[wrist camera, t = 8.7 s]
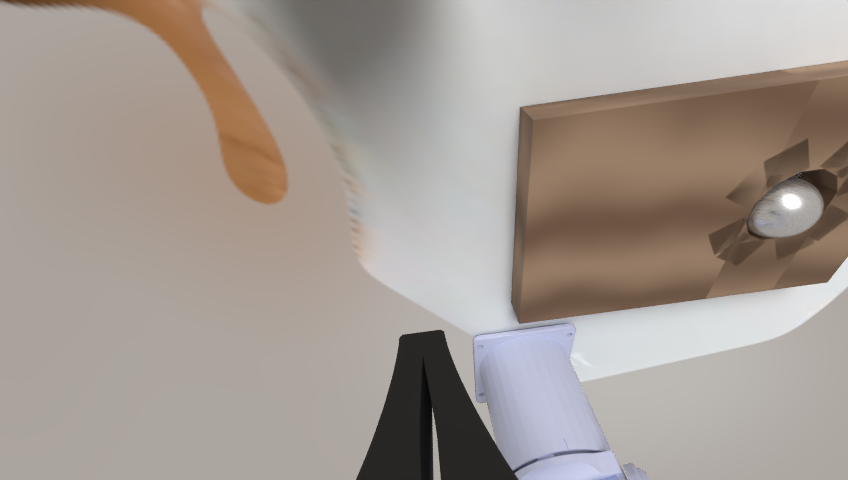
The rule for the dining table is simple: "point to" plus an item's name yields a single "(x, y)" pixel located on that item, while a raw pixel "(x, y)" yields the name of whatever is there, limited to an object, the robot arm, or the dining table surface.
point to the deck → (676, 192)
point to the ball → (786, 209)
